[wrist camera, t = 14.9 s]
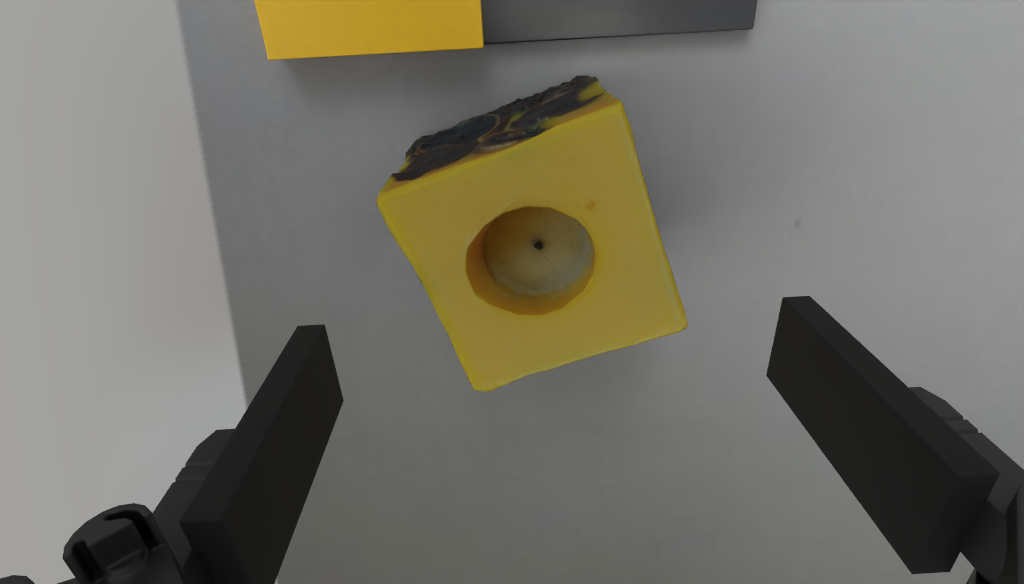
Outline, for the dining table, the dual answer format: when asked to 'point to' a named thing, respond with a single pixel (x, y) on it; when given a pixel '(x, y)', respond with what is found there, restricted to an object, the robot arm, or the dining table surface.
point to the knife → (477, 23)
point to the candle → (535, 234)
